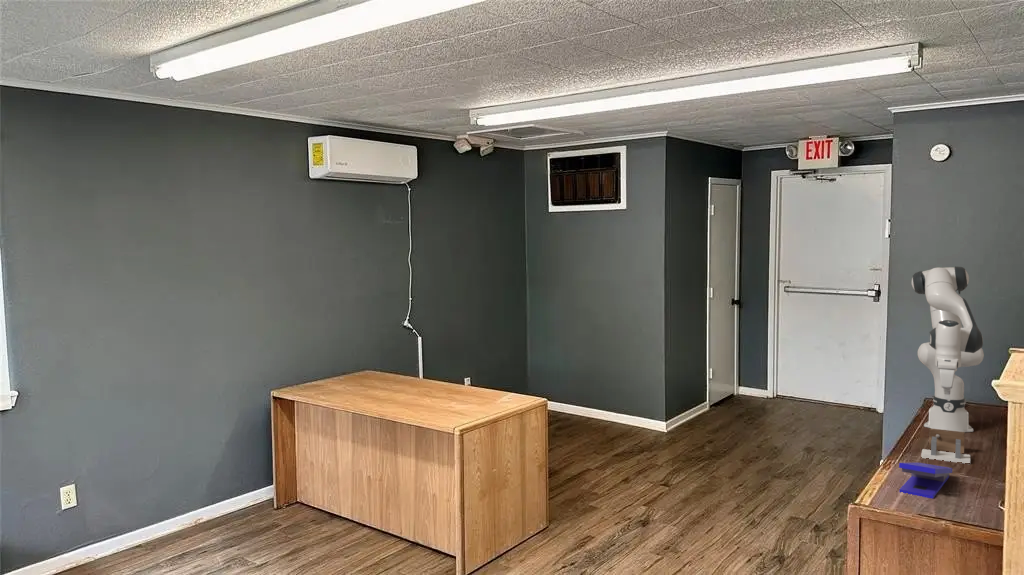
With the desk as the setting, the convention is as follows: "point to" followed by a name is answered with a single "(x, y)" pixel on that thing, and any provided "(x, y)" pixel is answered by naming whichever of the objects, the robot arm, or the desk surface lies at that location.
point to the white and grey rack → (945, 453)
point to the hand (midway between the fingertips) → (947, 396)
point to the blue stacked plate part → (924, 479)
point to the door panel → (946, 439)
